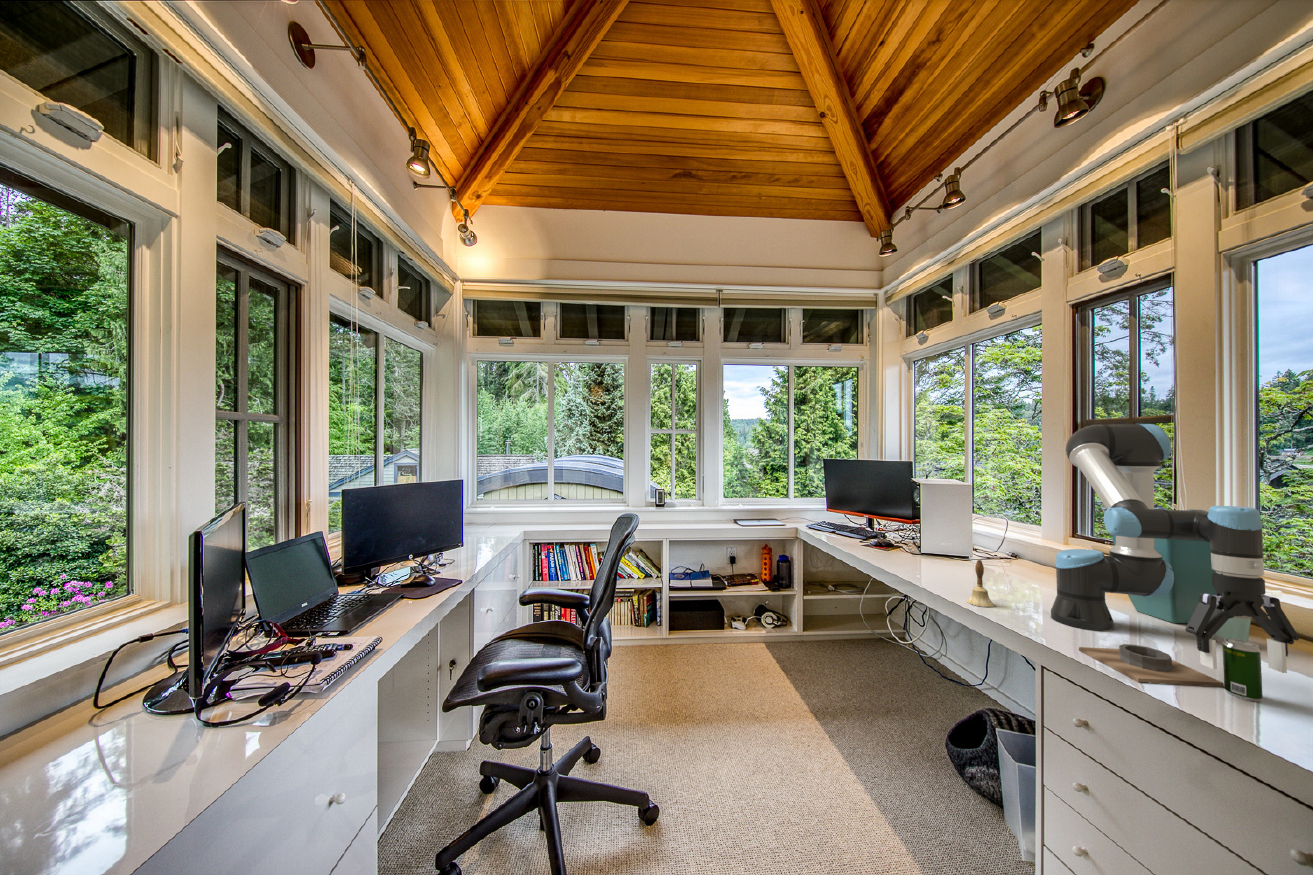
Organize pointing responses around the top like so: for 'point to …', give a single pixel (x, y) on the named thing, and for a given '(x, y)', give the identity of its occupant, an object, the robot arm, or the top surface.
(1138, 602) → the flower pot
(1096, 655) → the collar holder
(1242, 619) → the coffee cup
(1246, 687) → the beer can
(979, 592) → the hand bell
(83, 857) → the top surface
